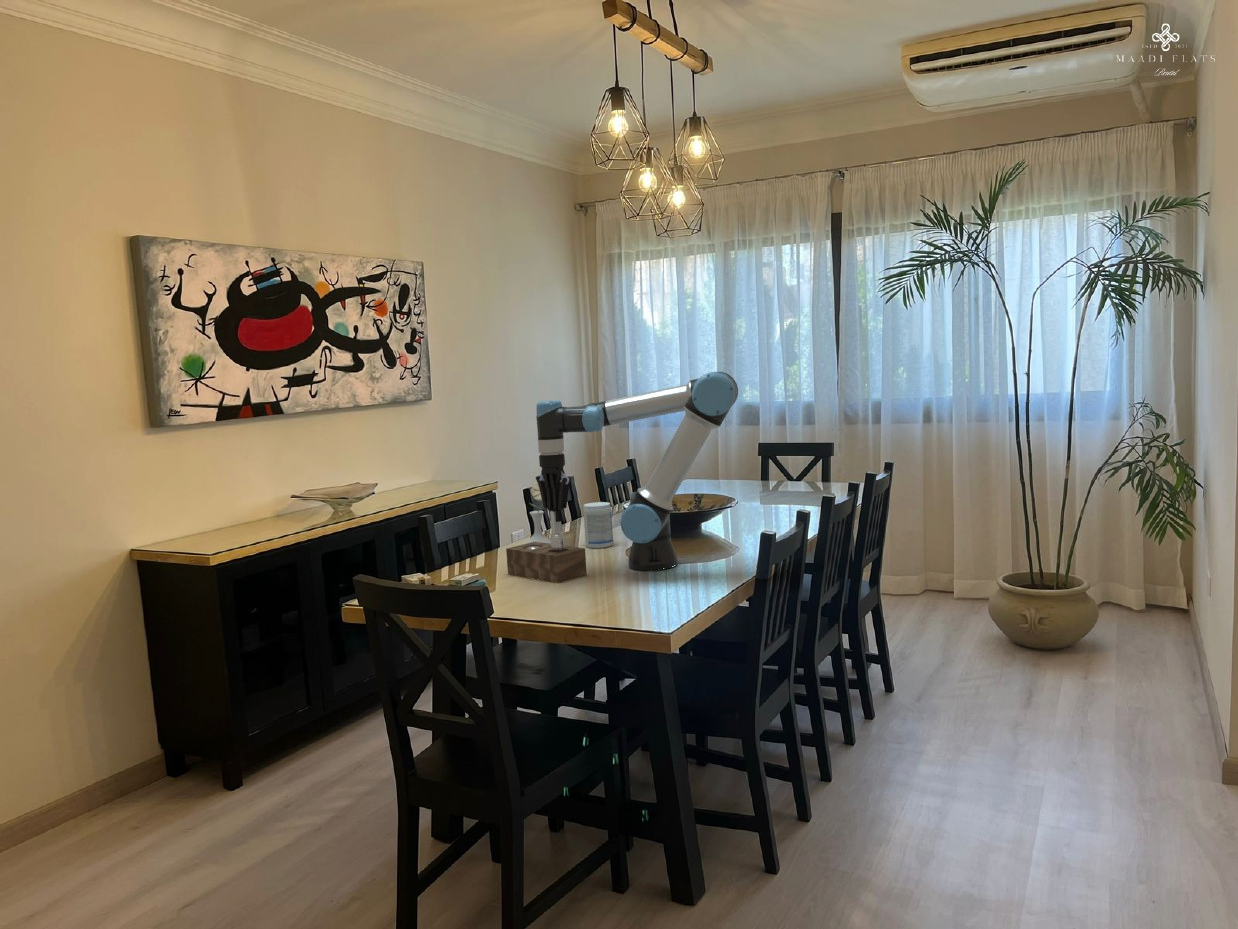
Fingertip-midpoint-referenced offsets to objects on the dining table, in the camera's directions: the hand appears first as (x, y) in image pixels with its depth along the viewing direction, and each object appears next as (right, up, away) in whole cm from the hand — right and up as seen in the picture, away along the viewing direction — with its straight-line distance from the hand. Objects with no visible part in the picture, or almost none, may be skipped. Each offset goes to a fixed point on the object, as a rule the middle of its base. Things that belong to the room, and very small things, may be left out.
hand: (556, 532), depth 271 cm
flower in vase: (-8, -10, +39) cm, 41 cm away
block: (-3, -13, +5) cm, 15 cm away
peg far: (-7, -13, +9) cm, 17 cm away
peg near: (+1, -8, +1) cm, 9 cm away
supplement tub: (+12, -8, +44) cm, 46 cm away
